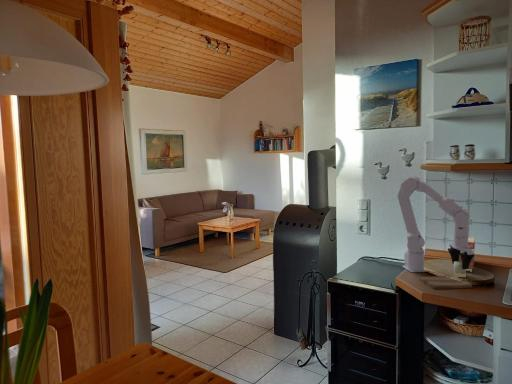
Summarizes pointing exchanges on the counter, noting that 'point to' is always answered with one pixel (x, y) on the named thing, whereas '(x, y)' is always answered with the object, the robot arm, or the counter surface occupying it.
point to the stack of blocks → (472, 246)
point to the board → (444, 282)
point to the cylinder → (459, 267)
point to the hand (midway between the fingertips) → (460, 266)
